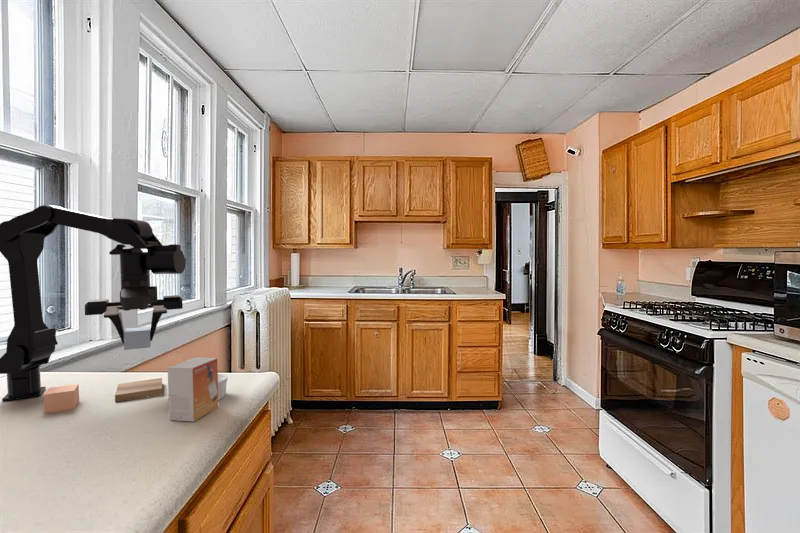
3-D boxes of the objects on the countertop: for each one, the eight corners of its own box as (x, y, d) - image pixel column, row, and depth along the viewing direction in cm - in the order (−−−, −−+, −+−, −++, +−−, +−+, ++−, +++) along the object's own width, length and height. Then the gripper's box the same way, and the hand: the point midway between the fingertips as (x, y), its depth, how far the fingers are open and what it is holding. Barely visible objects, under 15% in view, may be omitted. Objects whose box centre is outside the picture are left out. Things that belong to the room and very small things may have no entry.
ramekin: (197, 408, 89) (196, 388, 89) (176, 399, 94) (176, 380, 94) (235, 396, 96) (235, 377, 96) (214, 389, 101) (214, 371, 101)
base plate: (118, 390, 101) (118, 384, 100) (162, 383, 105) (161, 377, 105) (115, 402, 93) (115, 395, 93) (162, 394, 97) (162, 388, 97)
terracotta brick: (50, 406, 91) (49, 387, 91) (79, 401, 94) (78, 383, 93) (44, 413, 87) (43, 394, 87) (75, 409, 89) (74, 390, 89)
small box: (193, 422, 81) (192, 368, 81) (168, 420, 82) (166, 366, 82) (219, 407, 89) (218, 357, 89) (196, 405, 90) (194, 356, 90)
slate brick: (125, 345, 99) (125, 328, 99) (150, 343, 102) (150, 326, 101) (124, 350, 95) (123, 332, 95) (150, 347, 97) (149, 329, 97)
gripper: (79, 278, 86) (82, 354, 87) (182, 274, 95) (184, 343, 96) (87, 275, 96) (89, 344, 96) (180, 272, 105) (182, 335, 106)
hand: (137, 341), depth 98 cm, fingers closed on slate brick, 5 cm apart
